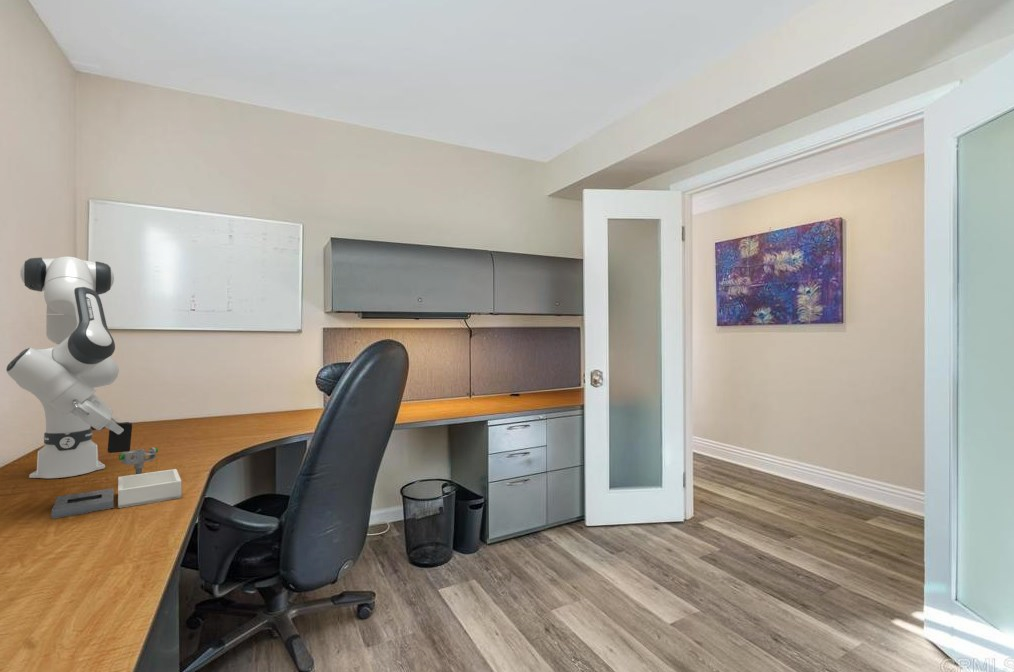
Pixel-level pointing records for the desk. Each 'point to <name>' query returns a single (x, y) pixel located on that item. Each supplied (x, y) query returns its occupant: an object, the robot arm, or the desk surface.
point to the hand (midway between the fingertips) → (121, 431)
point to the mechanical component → (138, 458)
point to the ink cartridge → (120, 439)
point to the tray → (148, 488)
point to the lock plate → (83, 503)
